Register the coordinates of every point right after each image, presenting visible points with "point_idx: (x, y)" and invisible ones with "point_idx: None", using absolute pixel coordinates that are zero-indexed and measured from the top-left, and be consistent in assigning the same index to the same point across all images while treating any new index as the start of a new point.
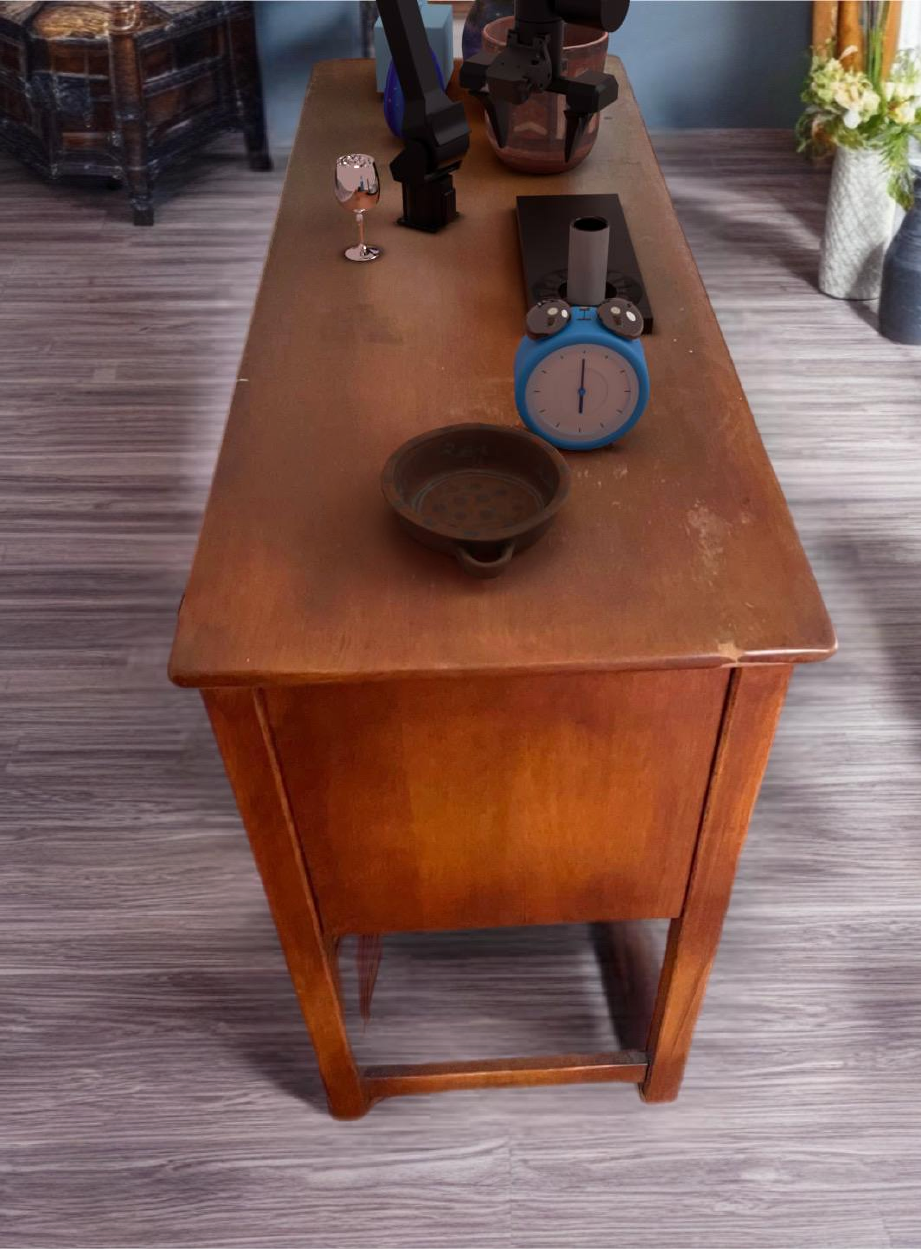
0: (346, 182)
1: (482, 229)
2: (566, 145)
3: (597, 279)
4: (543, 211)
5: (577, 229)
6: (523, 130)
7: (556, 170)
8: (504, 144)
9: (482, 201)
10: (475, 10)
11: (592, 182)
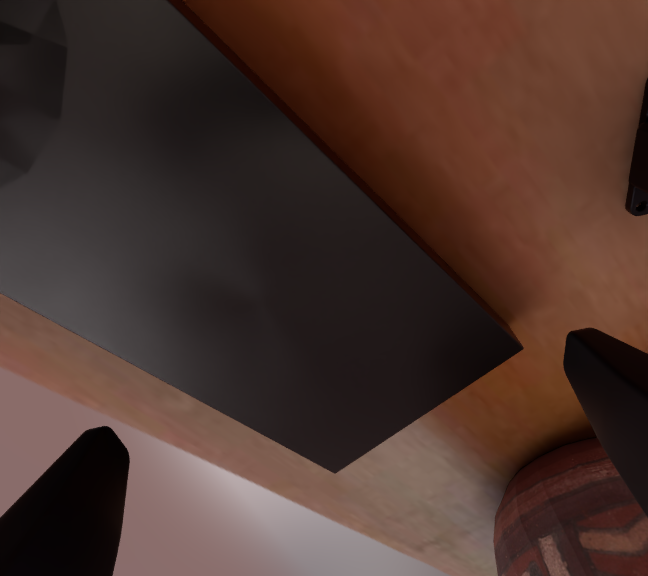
0: None
1: (527, 196)
2: (17, 535)
3: None
4: (410, 333)
5: None
6: (640, 521)
7: (524, 472)
8: (574, 369)
9: (607, 307)
10: None
11: (442, 480)
